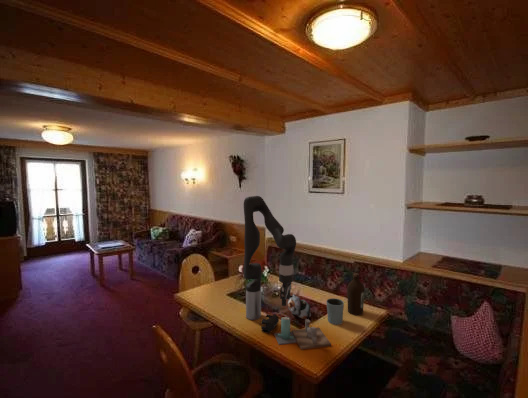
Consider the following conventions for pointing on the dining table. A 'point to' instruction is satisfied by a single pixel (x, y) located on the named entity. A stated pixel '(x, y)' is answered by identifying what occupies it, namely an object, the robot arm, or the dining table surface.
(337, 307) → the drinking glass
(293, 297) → the lucky cat figurine
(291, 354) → the dining table surface
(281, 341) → the mat
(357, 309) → the olive oil
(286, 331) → the teal teardrop shape
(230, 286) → the dining table surface
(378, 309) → the dining table surface
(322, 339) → the square mounting plate
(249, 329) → the dining table surface
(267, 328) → the black lumpy shape
